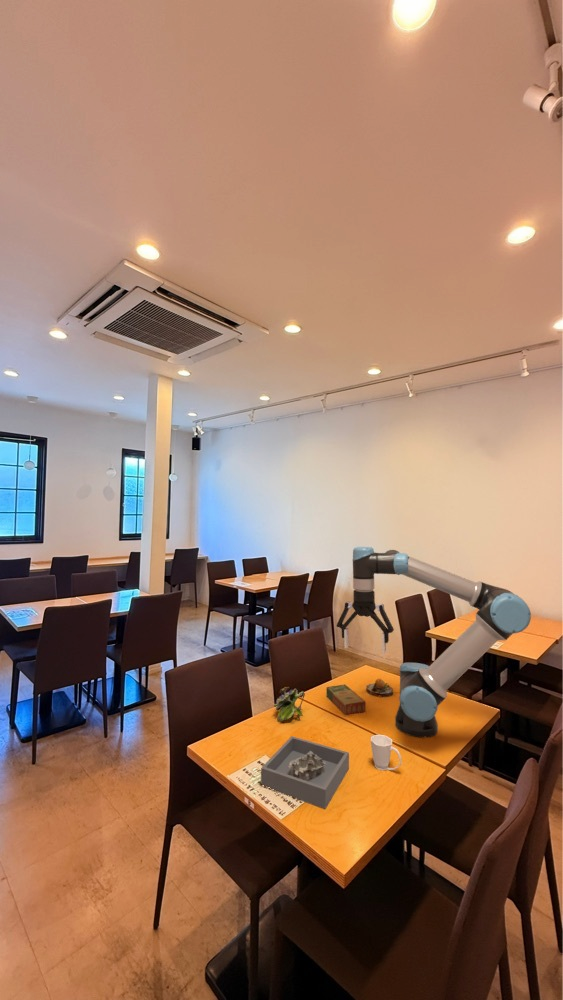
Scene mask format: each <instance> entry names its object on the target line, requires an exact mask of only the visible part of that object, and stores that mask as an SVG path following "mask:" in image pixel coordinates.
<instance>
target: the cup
mask: <svg viewBox="0 0 563 1000" xmlns="http://www.w3.org/2000/svg"><path fill="white" fill-rule="evenodd" d="M370 745H371V753H372V754H371V755H372V759H373V763H374V768H376V769H377V770H378V771H386V770H387V771H394V770H396V769H398V768H399V767H401V765H402V756H401V753H400V752H399V750H398V749H397V748H396V747H394V746H392V745H393V739H392V738H390V737H388V736H387V735H384V734H375V735H372V736H371V737H370ZM392 751H394V752H396V754H397V756H398V759H399V763H398V765H397V766H395V767H389V764H390V760H391V752H392Z"/></svg>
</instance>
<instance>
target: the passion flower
mask: <svg viewBox="0 0 563 1000" xmlns="http://www.w3.org/2000/svg"><path fill="white" fill-rule="evenodd" d="M289 689H290V687H289V686H285V687H284V688H281V689H279V694H280V696H278V698H277V699H276V703H274V704H273V706H274V707H275V711H278V713H277V722H282V721H284V720H289V719H290V718H292V717H293V716H294V715H295V713H296V714H297V715H298V720H300V719H301V717H303V716H304V715H303V711H301V710H302V704H303V701H304V697H305V696H306V693H305V691H303V690H302V691H301V692H299V690H298V689H297V688H294V689H290V690H289ZM287 690H289V691H287ZM286 691H287V692H286ZM299 698H301V702H300V705H299V706H298V707H297V706H296V702H297V700H298V699H299Z"/></svg>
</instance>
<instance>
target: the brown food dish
mask: <svg viewBox="0 0 563 1000" xmlns="http://www.w3.org/2000/svg"><path fill="white" fill-rule="evenodd" d="M365 691H366V692H367V694H369V695H373V696H374V697H380V698H389V697H392V696H393V695H394V689H393V687H392V686H391V685H390V684H388V682H385V681H384V679H381V678H377V679H376V680H375V681H374V682H373V683H369V684H367V685H366V690H365Z"/></svg>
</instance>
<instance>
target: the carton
mask: <svg viewBox="0 0 563 1000" xmlns="http://www.w3.org/2000/svg"><path fill="white" fill-rule="evenodd" d="M325 691H326V693H325V694H326V698H327V700H329V701H330V702H331V703H332V704H333V705H334V706H335V707H336V708H337V709H338V710H339V711H340V713H342V714H343V715H344V716H345V717H346V716H352V715H358V714H364V713H365V714H366V711H367V710H366V709H367V707H366V706H367V705H366V704H367V703H366V700H365V699H363V698H362V697H361V696H359V694H357V693H356V692H355V691H354V690H352V689H351V688H350V687H349V686H347V685H346V684H339V685H331V686H327V687H326V689H325Z"/></svg>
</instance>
